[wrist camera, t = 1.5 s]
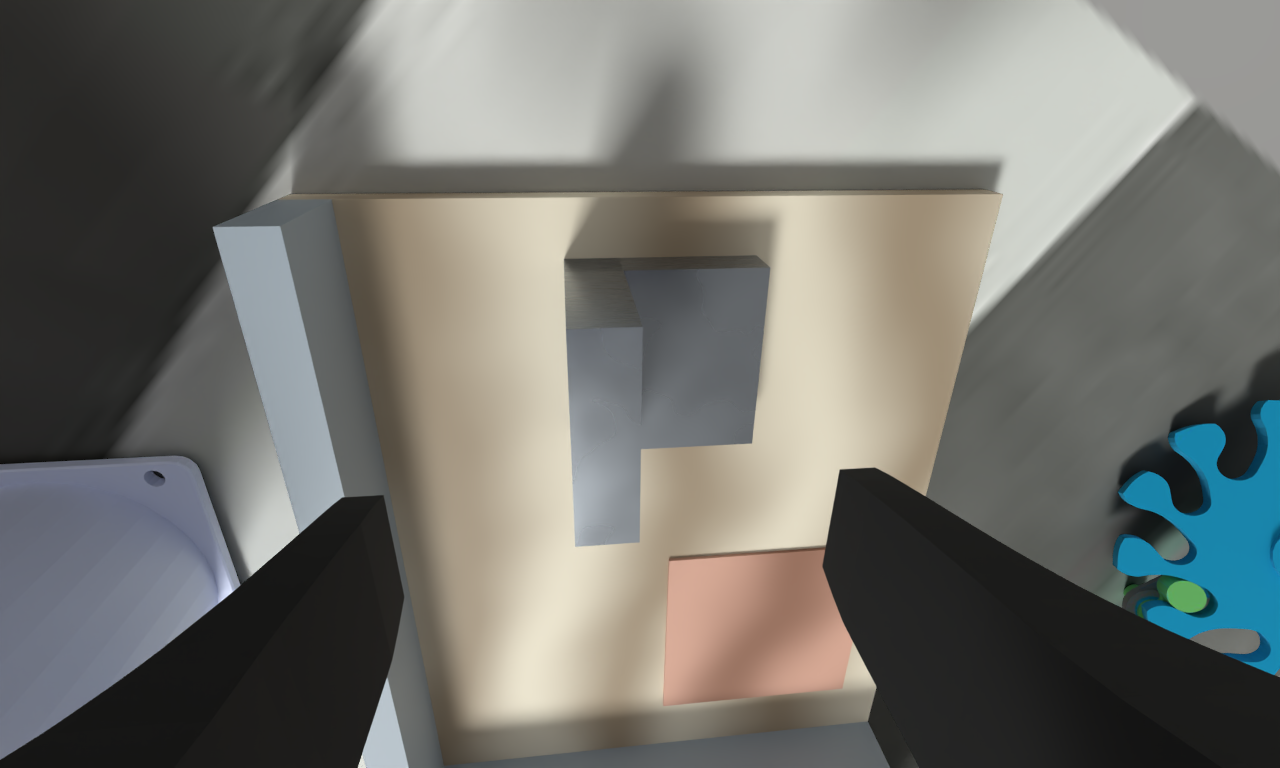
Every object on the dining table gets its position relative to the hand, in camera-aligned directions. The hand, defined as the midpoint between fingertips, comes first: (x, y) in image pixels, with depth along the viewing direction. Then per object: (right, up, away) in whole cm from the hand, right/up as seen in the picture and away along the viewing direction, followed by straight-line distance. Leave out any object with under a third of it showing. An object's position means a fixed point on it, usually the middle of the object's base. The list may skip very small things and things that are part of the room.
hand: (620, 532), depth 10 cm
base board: (+1, -3, +11) cm, 11 cm away
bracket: (+1, +3, +7) cm, 8 cm away
